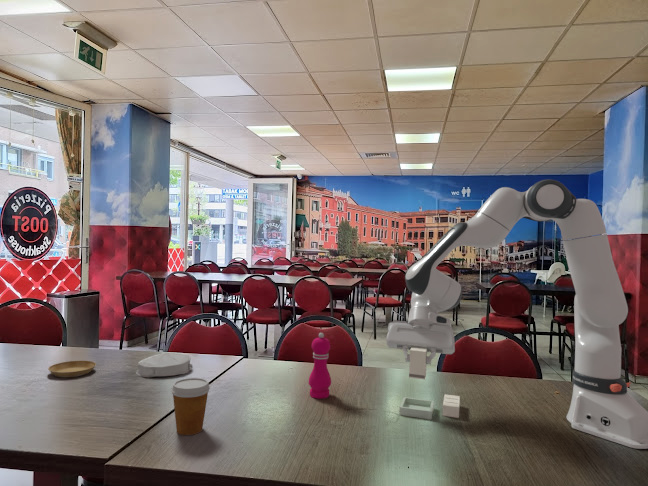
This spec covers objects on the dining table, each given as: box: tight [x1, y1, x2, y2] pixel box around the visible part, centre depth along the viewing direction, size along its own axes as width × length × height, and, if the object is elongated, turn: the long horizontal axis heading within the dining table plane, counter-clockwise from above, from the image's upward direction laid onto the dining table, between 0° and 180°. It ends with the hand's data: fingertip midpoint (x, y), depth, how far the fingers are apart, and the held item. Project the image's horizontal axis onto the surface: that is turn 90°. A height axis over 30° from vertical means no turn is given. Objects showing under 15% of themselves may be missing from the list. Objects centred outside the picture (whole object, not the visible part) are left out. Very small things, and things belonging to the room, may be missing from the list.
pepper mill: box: [308, 332, 332, 400], centre depth 140 cm, size 7×7×20 cm
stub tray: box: [398, 396, 435, 420], centre depth 129 cm, size 9×9×2 cm
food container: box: [135, 352, 194, 379], centre depth 162 cm, size 20×20×7 cm
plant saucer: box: [48, 360, 97, 378], centre depth 156 cm, size 15×15×3 cm
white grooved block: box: [442, 393, 461, 419], centre depth 130 cm, size 10×4×3 cm, turn 162°
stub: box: [408, 347, 428, 380], centre depth 129 cm, size 4×4×8 cm
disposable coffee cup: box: [170, 377, 211, 436], centre depth 112 cm, size 10×10×12 cm
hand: (417, 362), depth 128 cm, fingers closed on stub, 4 cm apart
